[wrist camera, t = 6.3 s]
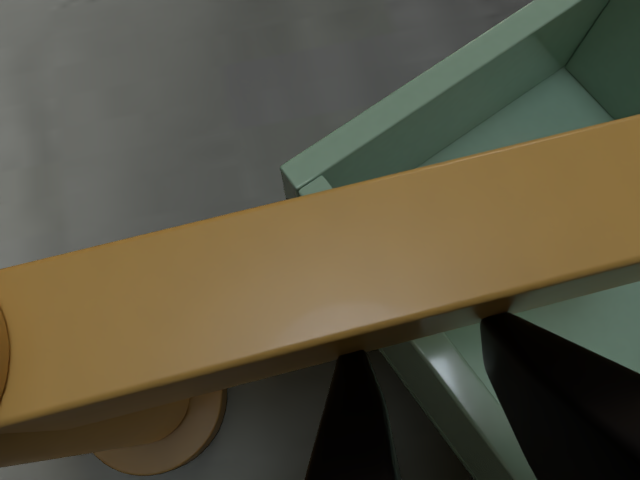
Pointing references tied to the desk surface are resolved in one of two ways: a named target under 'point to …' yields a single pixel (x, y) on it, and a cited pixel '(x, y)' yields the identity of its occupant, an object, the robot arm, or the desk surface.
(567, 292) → the faucet
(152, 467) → the base
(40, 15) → the desk surface
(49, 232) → the desk surface
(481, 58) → the green open box
